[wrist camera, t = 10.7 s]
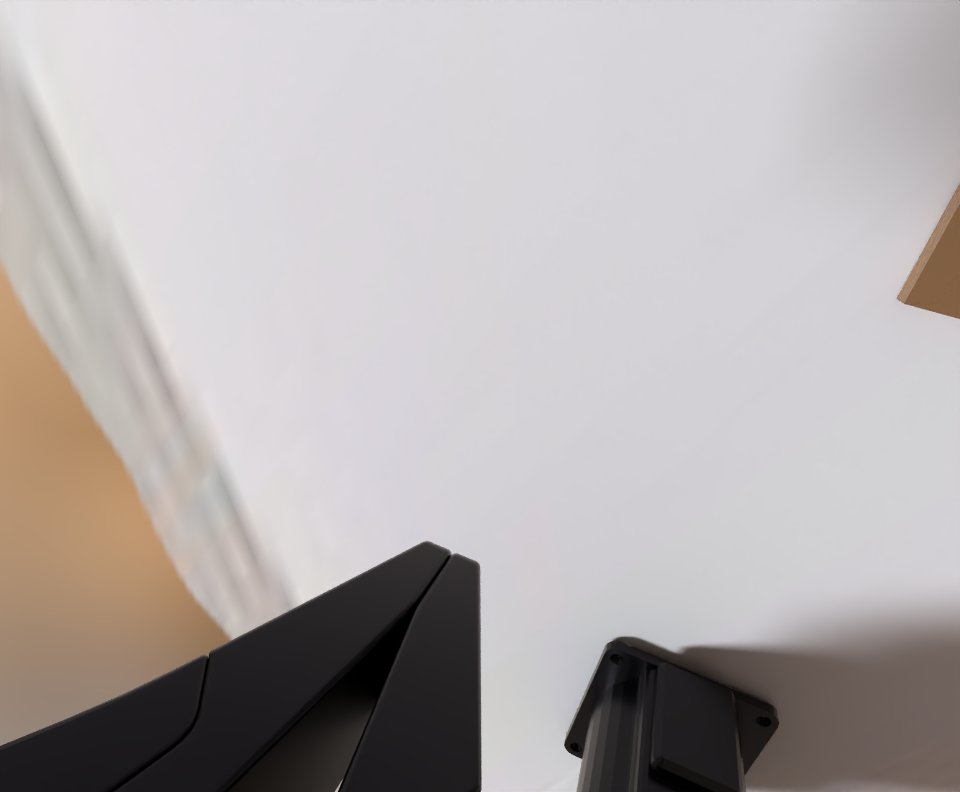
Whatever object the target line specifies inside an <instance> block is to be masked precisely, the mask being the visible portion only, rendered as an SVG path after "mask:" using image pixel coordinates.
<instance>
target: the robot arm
mask: <svg viewBox="0 0 960 792" xmlns="http://www.w3.org/2000/svg"><path fill="white" fill-rule="evenodd" d="M613 654H618V655H620V656H621V657H618V656H615V655H613ZM759 716H765V717H764V718H763V717H759ZM778 725H779V720H778V714H777V710H776V709H775V708H774V707H773V706H772V705H770V704H768V703H766V702H764V701H761V700H759V699H756V698H754V697H752V696H749V695H747V694H744V693H742V692H740V691H737V690H735V689H732V688H730V687H728V686H725V685H723V684H720V683H718V682H716V681H713V680H711V679H708V678H706V677H703V676H701V675H699V674H696V673H694V672H691V671H689V670H687V669H684V668H682V667H679V666H677V665H675V664H672V663H670V662H667V661H665V660H663V659H660V658H658V657H655V656H653V655H651V654H648V653H646V652H643V651H641V650H638V649H636V648H634V647H631V646H629V645H626V644H624V643H621V642H618V641H612V642H610V643H608V644H607V645H606V646H605V648H604V650H603V653H602V655H601V657H600V659H599V662H598V664H597V666H596V669H595V671H594V673H593V675H592V678H591V680H590V682H589V684H588V687H587V689H586V691H585V693H584V696H583V698H582V700H581V702H580V705H579V707H578V709H577V711H576V714H575V716H574V718H573V721H572V723H571V725H570V727H569V730H568V732H567V734H566V739H565V744H564V746H565V748H566V750H567V751H568V752H569V753H571V754H572V755H574V756H576V757H579V758H581V759H582V764H581V769H580V775H579V781H578V787H577V792H746V790H745V779H744V776H745V774H746V773H747V771H748V770H749V768H750V767H751V766H752V764H753V763H754V761H755V760H756V758H757V757H758V755H759V754H760V752H761V751H762V750H763V748H764V747H765V745H766V744H767V742H768V741H769V739H770V738H771V736H772V735H773V734H774V732H775V731H776V729H777V728H778ZM342 779H343V781H342ZM341 781H342V783H341V785H340V788H339V790H338V792H481V618H480V565H479V563H478V562H476V561H474V560H472V559H469V558H467V557H465V556H462V555H460V554H457V553H456V554H453V555H451V552H450V550H448V549H446V548H444V547H441V546H439V545H437V544H434V543H432V542H429V541H426V542H422V543H420V544H418V545H416V546H414V547H412V548H411V549H409V550H407V551H405V552H403V553H401V554H399V555H397V556H395V557H393V558H391V559H389V560H387V561H385V562H383V563H381V564H379V565H377V566H376V567H374V568H372V569H370V570H368V571H366V572H364V573H362V574H360V575H358V576H356V577H354V578H352V579H350V580H348V581H346V582H344V583H342V584H340V585H339V586H337V587H335V588H333V589H331V590H329V591H327V592H325V593H323V594H321V595H319V596H317V597H315V598H313V599H311V600H309V601H307V602H305V603H304V604H302V605H300V606H298V607H296V608H294V609H292V610H290V611H288V612H286V613H284V614H282V615H280V616H278V617H276V618H274V619H272V620H270V621H268V622H267V623H265V624H263V625H261V626H259V627H257V628H255V629H253V630H251V631H249V632H247V633H245V634H243V635H241V636H239V637H237V638H235V639H233V640H232V641H230V642H228V643H226V644H224V645H222V646H220V647H218V648H216V649H214V650H212V651H211V652H210V653H209V657H208V656H207V655H202V656H200V657H198V658H196V659H194V660H192V661H190V662H188V663H186V664H184V665H182V666H180V667H179V668H176V669H175V670H173V671H170V672H168V673H166V674H164V675H162V676H160V677H158V678H156V679H154V680H152V681H150V682H148V683H146V684H144V685H142V686H139V687H137V688H135V689H133V690H131V691H129V692H127V693H125V694H123V695H121V696H118V697H116V698H114V699H111V700H109V701H107V702H104V703H102V704H100V705H98V706H95V707H93V708H91V709H88V710H86V711H84V712H81V713H79V714H77V715H74V716H72V717H70V718H67V719H65V720H63V721H60V722H58V723H55V724H53V725H50V726H48V727H45V728H43V729H41V730H38V731H36V732H33V733H31V734H28V735H26V736H23V737H21V738H19V739H16V740H14V741H11V742H9V743H7V744H4V745H2V746H0V792H335V790H336V789H337V787H338V786H339V784H340V782H341Z"/></svg>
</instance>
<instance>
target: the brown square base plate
mask: <svg viewBox="0 0 960 792" xmlns="http://www.w3.org/2000/svg"><path fill="white" fill-rule="evenodd" d="M897 299H898V300H899V301H901V302H902V303H904V304H907V305H911V306H914V307H918V308H922V309H925V310H929V311H933V312H936V313H940V314H944V315H947V316H951V317H955V318H959V319H960V185H959V186H958V188H957V190H956V192H955V194H954V195H953V197H952V199H951V201H950V203H949V205H948V206H947V208H946V210H945V212H944V214H943V215H942V217H941V219H940V221H939V223H938V224H937V226H936V228H935V230H934V232H933V234H932V235H931V237H930V239H929V241H928V243H927V244H926V246H925V248H924V250H923V252H922V254H921V255H920V257H919V259H918V261H917V263H916V264H915V266H914V268H913V270H912V272H911V274H910V275H909V277H908V279H907V281H906V283H905V284H904V286H903V288H902V290H901V292H900V294H899V295H898V297H897Z"/></svg>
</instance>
